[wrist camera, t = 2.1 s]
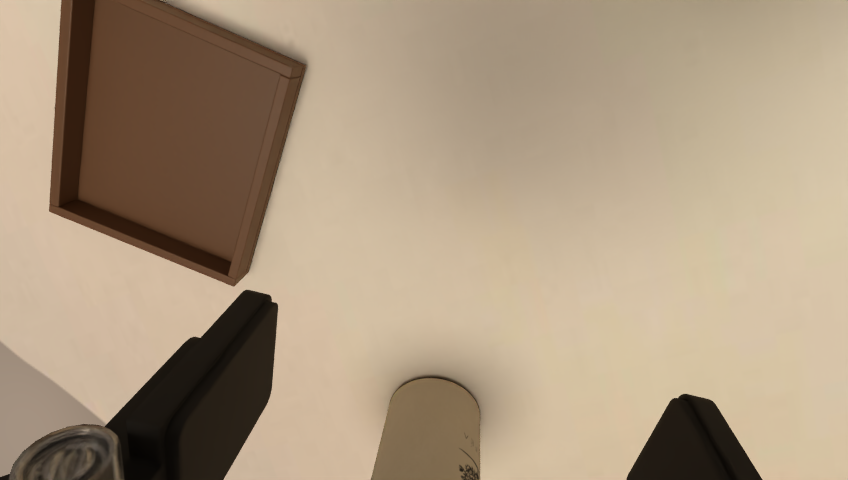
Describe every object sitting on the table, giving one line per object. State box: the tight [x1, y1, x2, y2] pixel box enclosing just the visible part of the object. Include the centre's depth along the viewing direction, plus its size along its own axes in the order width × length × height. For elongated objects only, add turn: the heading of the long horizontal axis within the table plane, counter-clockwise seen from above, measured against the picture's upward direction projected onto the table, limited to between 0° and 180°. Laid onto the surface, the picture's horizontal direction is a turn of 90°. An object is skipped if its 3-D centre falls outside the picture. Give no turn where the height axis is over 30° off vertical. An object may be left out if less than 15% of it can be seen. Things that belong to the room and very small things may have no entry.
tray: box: [49, 0, 306, 286], centre depth 32 cm, size 17×14×2 cm
